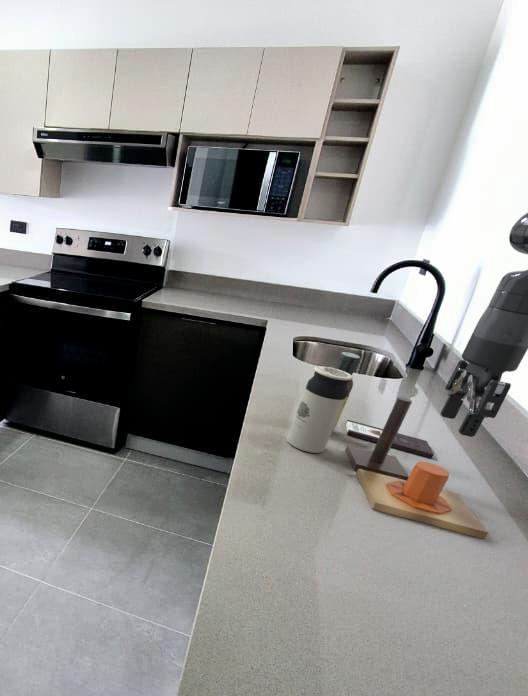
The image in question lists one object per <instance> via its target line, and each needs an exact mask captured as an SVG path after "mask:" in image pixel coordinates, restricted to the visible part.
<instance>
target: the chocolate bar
mask: <svg viewBox="0 0 528 696" xmlns="http://www.w3.org/2000/svg"><path fill="white" fill-rule="evenodd" d="M345 428H346V433H347V434H346V435H347V436H350V437H353V438H358V439H361V440H365V441H369V442H372V443H375V444H377V442H378V439H379V437H380V435H381V433H382V431H383V429H384V428H380V427H376V426H374V425H369V424H366V423H361V422H358V421H354V420H351V419H346V421H345ZM391 448H393V449H397V450H401V451H405V452H408V453H411V454H416V455H418V456H422V457H426V458H429V459H433V457H434V452H433V450H432V448H431V446H430V444H429V443H428V440H424V439H421V438H418V437H414V436H410V435H407V434H403V433H399V432H398V433H397V435H396V437H395V439H394V441H393V443H392V446H391Z"/></svg>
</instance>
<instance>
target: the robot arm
mask: <svg viewBox="0 0 528 696" xmlns="http://www.w3.org/2000/svg"><path fill="white" fill-rule="evenodd" d="M508 241H509V244H510V246H511V248H512V249H513V250H515V251H516V252H518V253H520V254H523V255H528V212H526V213H524V214H523V215H522V216H521V217H519V218H518V219H517V221H516V222H515V223H513V226H512V227H511V229H510V232H509V235H508ZM527 351H528V269H525V270H514V271H510V272H507V273H506V274H505V275H503V276H502V277H501V279H500V281H499V283H498V285H497V286H496V289H495V291H494V293H493V294H492V296H491V299H490V300H489V302H488V305H487V307H486V308H485V310H484V311H483V313H482V314H481V316H480V317H479V319H478V321H477V323H476V325H475V327H474V330H473V332H472V333H471V335H470V338H469V340H468V341H467V343H466V346H465V348H464V350H463V352H462V354H461V359H460V360H459V361H458V362H457V364H456V366H455V368H454V370H453V372H452V374H451V375H450V378H449V379H448V381H447V383H446V385H445V391H447V400H446V401H445V404H444V405H443V407H442V409H441V411H440V416H441V417H443V418H446V419H451V420H454V419H455V418H456V417H457V415H458V413H459V411H460V410H461V407H462V405H463V403H464V400H465V399H466V401H467V402H468V403H469V405H468V412H467V414H466V415H465V417H464V419H463V421H462V423H461V425H460V426H459V429H458V433H459V434H460V435H462V436H465V437H470V438H473V437H475V436H476V434H477V433H478V431H479V428H480V427H481V425H482V423H483V421H484V420H485V419H488V418H490V419H495V418H496V416H497V415H498V413H499V411H500V409H501V407H502V405H503V403H504V401H505V399H506V397H507V395H508V393H509V391H510V389H511V387H512V384H511V383H510V382H506V381H502V377H503V374H504V373H507V372H508V373H511V372H515V371H516V370H518V368H519V366H520V364H521V363H522V360H523V359H524V357H525V356H526V353H527Z"/></svg>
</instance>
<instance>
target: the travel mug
mask: <svg viewBox="0 0 528 696" xmlns="http://www.w3.org/2000/svg"><path fill="white" fill-rule="evenodd" d="M335 368H336V367H331V366H323V365H318V366H314V368H313V370H314V373H313V376H312V377H311V378H310V379H309V380H308V381H307V383H306V386H305V388H304V392H303V394H302V397H301V400H300V402H299V405H298V408H297V410H296V412H295V416H294V418H293V421H292V424H291V427H290V428H289V432H288V435H287V437H286V440H287V441H286V442H288V443H289V444H290V445H291V446H292V447H294V448H296V449H297V450H300V451H302V452H305V453H310V454H321V453H323V452H324V451H325V449H326V447H327V446H328V445H327V444H328V443H329V439H330V437H331V435H332V433H333V432H332V430H333V427H334V425H335V423H336V420H337V418H338V415H339V413H340V410H341V408H342V406H343V403H344V401H345V398H346V396H347V393H348V388H347V384H348V382H349V381H350V380H351V379H352V380H353V376H351V375H350V374H348V373H346V372H344V371H341V370H338V369H335ZM333 431H334V430H333ZM331 432H332V433H331Z"/></svg>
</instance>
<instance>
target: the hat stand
mask: <svg viewBox="0 0 528 696" xmlns="http://www.w3.org/2000/svg"><path fill="white" fill-rule="evenodd" d="M412 403H413V400H411V399H410V398H408V397H407V398H406V397H404V396H397V398H396V400H395V403H394V404H393V406H392V408H391V411H390V413H389V415H388V418H387V420H386V422H385V424H384V426H383V428H382V429H383V431H382V433H381V435H380V437H379V439H378V442H377V443H375V447H374V449H373V450H369V449H365V448H361V447H357V446H352V445H349V444H347V445H346V447H345V449H344V451H345V454H346V457H347V458H348V460H349V462H351V463H350V465H351V467H352V468H353V471H356V470H357V471H358V469H363V470H367V471H371V472H375V473H379V474H382V475H386V476H390V477H394V478H398V479H402V480H406V481H407V480H408V478H409V476H410V475H409V474H408V473H407V472H406V470H405V468H404V467H403V466H402V464H401V463H400V461H399V460H398V458H397V456H394V455H390V454H389V452H390V450H391V448H392V447H391V446H392V443H393V441H394V439H395V437H396V435H397V433H399V431H400V430H401V429H400V428H401V426H402V424H403V422H404V421H405V418H406V416H407V414H408V412H409V410H410V408H411V405H412ZM357 471H356V472H357Z"/></svg>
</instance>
